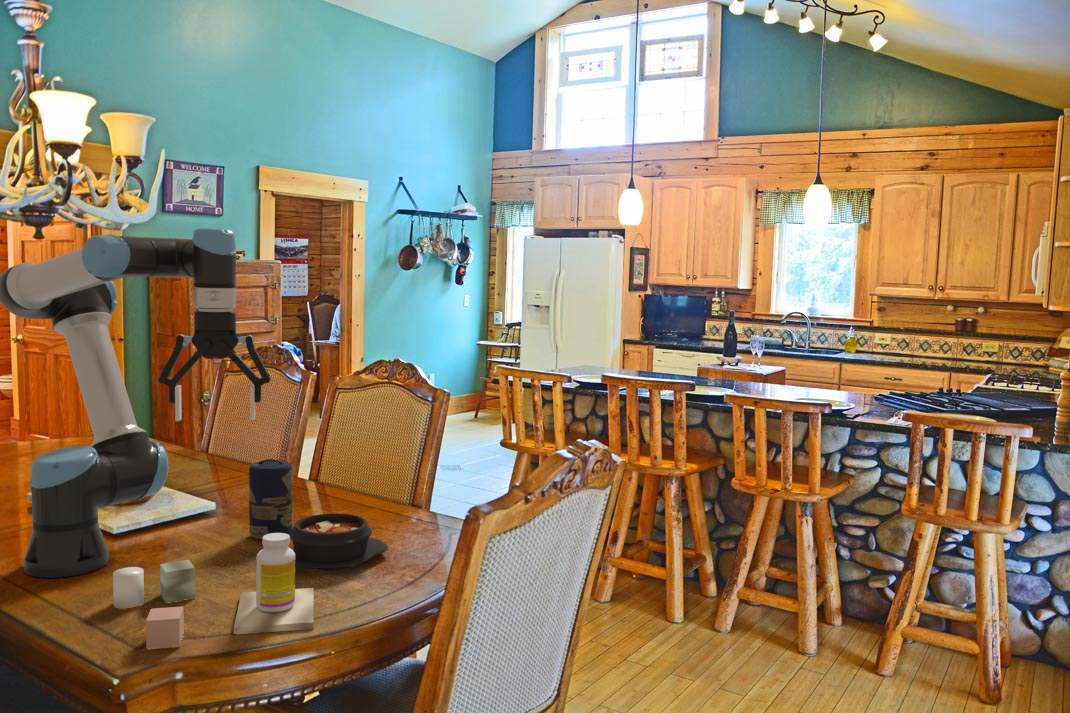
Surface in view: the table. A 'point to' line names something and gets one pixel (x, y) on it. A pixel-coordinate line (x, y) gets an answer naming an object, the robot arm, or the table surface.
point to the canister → (270, 498)
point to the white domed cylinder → (128, 587)
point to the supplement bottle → (275, 574)
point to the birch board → (275, 614)
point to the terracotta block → (164, 627)
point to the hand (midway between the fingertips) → (216, 419)
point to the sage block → (177, 581)
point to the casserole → (333, 542)
